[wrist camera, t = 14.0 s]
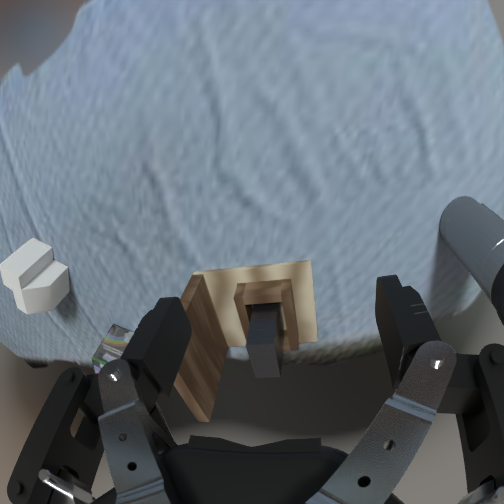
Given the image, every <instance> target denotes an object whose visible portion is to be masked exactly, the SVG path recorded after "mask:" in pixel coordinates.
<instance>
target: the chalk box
mask: <svg viewBox="0 0 504 504" xmlns="http://www.w3.org/2000/svg"><path fill="white" fill-rule="evenodd" d="M133 335H134V332H132V331H129V330H127V329H124V328H122V327H120V326H117V325H115V324H113V325H112V327H111V328H110V330H109V331H108V333H107V335H106V336H105V338H104V339H103V341H102V342H101V344H100V346H99V347H98V349H97V350H96V352H95V354H94V355H93V357H92V362H93V366H94V370H95V374H96V373H99V371H100V370H101V368H102V367H103V366H104V365H105V364H106V363H108V362H109V361H112V360H115V359H120V357H121V355H122V353H123V352H124V350H125V348H126V346H127V344H128V343H129V341H130V339H131V337H132V336H133Z"/></svg>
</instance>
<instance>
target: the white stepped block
mask: <svg viewBox="0 0 504 504" xmlns="http://www.w3.org/2000/svg"><path fill="white" fill-rule="evenodd" d="M0 271H1V275H2V279H3V283H4V285H5V286H7V287H8V288H10V289H11V290H13V293H14V297H15V301H16V304H17V308H18V309H20V310H21V311H23V312H24V313H26V314H33V313H40V312H46V311H52V310H54V309H55V308H56V306H57V305H58V304H59V303H60V302H61V301H62V300H63V298H64V297H65V296H66V295H67V294H68V293H69V292H70V287H69V274H68V267H67V266H65V265H63V264H61V263H59V262H57V261H55V260H53V251H52V247H50V246H48V245H46V244H44V243H42V242H40V241H38V240H37V239H35V238H32V239H30V240H29V241H28V242H26V243H25V244H24V245H23V246H21V247H20V248H19V249H18V250H16V251H15V252H14V253H13V254H12V255H10V256H9V257H8V258H7V259H6V260H4V261H3V262H2V263H1V264H0Z"/></svg>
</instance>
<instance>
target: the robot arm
mask: <svg viewBox="0 0 504 504" xmlns="http://www.w3.org/2000/svg"><path fill="white" fill-rule="evenodd" d="M440 232H441V236H442V238H443V240H444V241H445V242H446V243H447V245H448V246H449V247H450V248H451V249H452V251H453V252H454V253H455V255H456V256H457V257H458V258H459V259H460V261H461V262H462V263H463V265H464V266H465V267H466V268H467V270H468V271H469V272H470V274H471V275H472V276H473V278H474V279H475V280H476V282H477V283H478V284H479V286H480V287H481V289H482V290H483V291H484V293H485V294H486V296H487V297H488V298H489V300H490V301H491V303H492V304H493V306H494V307H495V309H496V310H497V314H498V316H499V318H500V320H501V322H502V324H503V325H504V220H503V219H502V218H500V217H499V216H498V215H497V214H495V213H494V212H493V211H492V210H490V209H489V208H488V207H486V206H485V205H484V204H480V203H479V202H477V201H476V200H475V199H473V198H471V197H467V196H464V197H459V198H457V199H455V200H453V201H452V202H451V203H450V204H449V205H448V206H447V207H446V209H445V211H444V212H443V214H442V217H441V221H440ZM375 316H376V322H377V326H378V330H379V334H380V337H381V341H382V345H383V349H384V353H385V356H386V361H387V365H388V369H389V373H390V377H391V382H392V386H393V389H397V390H396V391H395V393H394V395H393V396H392V397H389V398H388V400H387V401H386V402H385V404H384V405H383V407H382V409H381V410H380V412H379V413H378V415H377V416H376V418H375V419H374V421H373V422H372V424H371V425H370V427H369V428H368V430H367V431H366V432H365V434H364V435H363V437H362V438H361V439H360V441H359V442H358V444H357V445H356V446H355V448H354V449H353V450H352V452H351V453H350V454H347V453H345V452H343V451H340V450H338V449H335V448H332V447H327V446H321V438H310V439H289V440H283V441H279V442H274V443H270V444H265V445H261V446H255V447H249V446H245V445H241V444H238V443H235V442H231V441H228V440H225V439H221V438H214V437H203V436H193V435H191V436H190V439H189V443H186V444H182V445H177V444H176V442H175V441H174V439H173V437H172V435H171V433H170V431H169V429H168V426H167V424H166V422H165V419H164V417H163V415H162V412H161V410H160V407H159V405H158V404H157V402H156V400H157V398H158V396H160V397H169V395H170V393H171V390H172V387H173V384H174V382H175V379H176V376H177V373H178V371H179V368H180V365H181V363H182V360H183V357H184V355H185V352H186V349H187V347H188V344H189V341H190V339H191V335H192V328H191V324H190V321H189V319H188V317H187V314H186V312H185V310H184V307H183V305H182V303H181V301H180V299H179V298H178V297H166V298H160V299H159V300H158V302H157V304H156V306H155V307H154V309H153V310H150V311H149V312H148V313H147V314H146V315H145V316H144V317H143V318H142V320H141V321H140V323H139V325H138V328H136V330H135V332H134V335H133V336H132V337H131V339H130V341H129V343H128V344H127V346H126V348H125V350H124V352H123V353H122V355H121V357H120V359H115V360H112V361H109V362H108V363H106V364H105V365H104V366H103V367H102V368H101V370H100V371H99V373H96V374H91V375H85V374H84V373H83V371H82V370H81V369H80V368H78V367H71V368H69V369H67V370H65V371H64V372H63V373H62V374H61V375H60V376H59V378H58V380H57V381H56V383H55V385H54V387H53V389H52V391H51V393H50V394H49V396H48V398H47V400H46V402H45V404H44V406H43V407H42V409H41V412H40V413H39V415H38V417H37V420H36V421H35V423H34V425H33V428H32V430H31V432H30V434H29V436H28V438H27V440H26V442H25V445H24V447H23V449H22V451H21V453H20V456H19V458H18V461H17V463H16V465H15V467H14V470H13V472H12V475H11V477H10V480H9V482H8V486H7V494H8V497H9V499H10V501H11V502H12V503H13V504H404V503H403V502H402V501H401V500H399V499H398V498H397V497H396V496H395V495H394V494H393V493H392V491H393V490H394V488H395V487H396V485H397V484H398V482H399V481H400V479H401V477H402V476H403V475H404V473H405V471H406V470H407V468H408V466H409V465H410V463H411V462H412V460H413V458H414V456H415V454H416V453H417V451H418V449H419V447H420V446H421V444H422V442H423V440H424V438H425V436H426V434H427V432H428V430H429V428H430V426H431V424H432V422H433V420H434V418H435V414H436V413H450V414H451V413H452V414H453V413H454V414H456V418H457V423H458V428H459V433H460V439H461V444H462V450H463V457H464V463H465V470H466V480H467V490H468V494H467V495H466V496H464V497H463V498H462V499H461V500H460V502H459V503H458V504H504V346H503V345H500V344H489V345H487V346H485V347H484V348H483V349H482V350H481V352H480V354H479V355H469V354H458V353H455V351H454V349H453V348H452V347H451V346H450V345H449V344H447V343H445V342H442V341H441V339H440V337H439V335H438V332H437V330H436V328H435V326H434V324H433V321H432V319H431V317H430V315H429V313H428V312H427V309H426V307H425V304H424V302H423V300H422V298H421V296H420V294H419V293H418V292H417V291H416V290H414V289H413V288H412V287H411V286H405V287H402V285H401V283H400V281H399V279H398V277H397V275H389V276H382V277H377V283H376V303H375ZM78 410H79V411H80V412H81V413H82V414H83V415H84V417H83V419H82V421H81V424H80V426H79V428H78V431H77V433H76V435H75V438H73V436H72V435H71V432H70V427H71V424H72V422H73V419H74V417H75V415H76V413H77V411H78ZM104 450H105V454H106V458H107V462H108V465H109V469H110V473H111V476H112V479H113V483H114V486H115V487H114V488H113V489H111V490H110V491H108V492H107V493H105V494H103V495H102V496H101V497H99V498H97V499H95V498H94V497H93V496H92V491H91V488H92V485H93V482H94V478H95V475H96V472H97V469H98V466H99V463H100V460H101V458H102V454H103V452H104Z"/></svg>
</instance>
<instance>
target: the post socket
mask: <svg viewBox="0 0 504 504" xmlns="http://www.w3.org/2000/svg"><path fill="white" fill-rule="evenodd" d="M180 301H181V303H182V305H183V307H184V310H185V312H186V314H187V317H188V319H189V321H190V324H191V328H192V335H191V339H190V341H189V344H188V347H187V349H186V352H185V355H184V357H183V360H182V363H181V365H180V368H179V371H178V373H177V376H176V379H175V382H174V386H175V387H176V389H177V390H178V392H179V393H180V395H181V396H182V398H183V399H184V401H185V402H186V404H187V405H188V407H189V408H190V410H191V411H192V413H193V414H194V416H195V417H196V418H197V419H198V421H204V422H209V421H210V417H211V413H212V410H213V406H214V402H215V398H216V394H217V390H218V386H219V382H220V378H221V373H222V369H223V365H224V362H225V358H226V353H227V349H228V347H234V346H246V340H247V335H248V330H249V325H250V319H251V314H252V309H253V304H262V303H275V302H280V303H281V309H282V315H283V322H284V337H283V351H289V350H298V346H299V343H307V342H318V340H317V325H316V312H315V301H314V289H313V279H312V269H311V260H307V261H297V262H288V263H278V264H268V265H258V266H248V267H238V268H228V269H218V270H207V271H197V272H194V273H193V275H192V277H191V279H190V281H189V283H188V285H187V287H186V288H185V290H184V292H183V294H182V296H181V298H180Z"/></svg>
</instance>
